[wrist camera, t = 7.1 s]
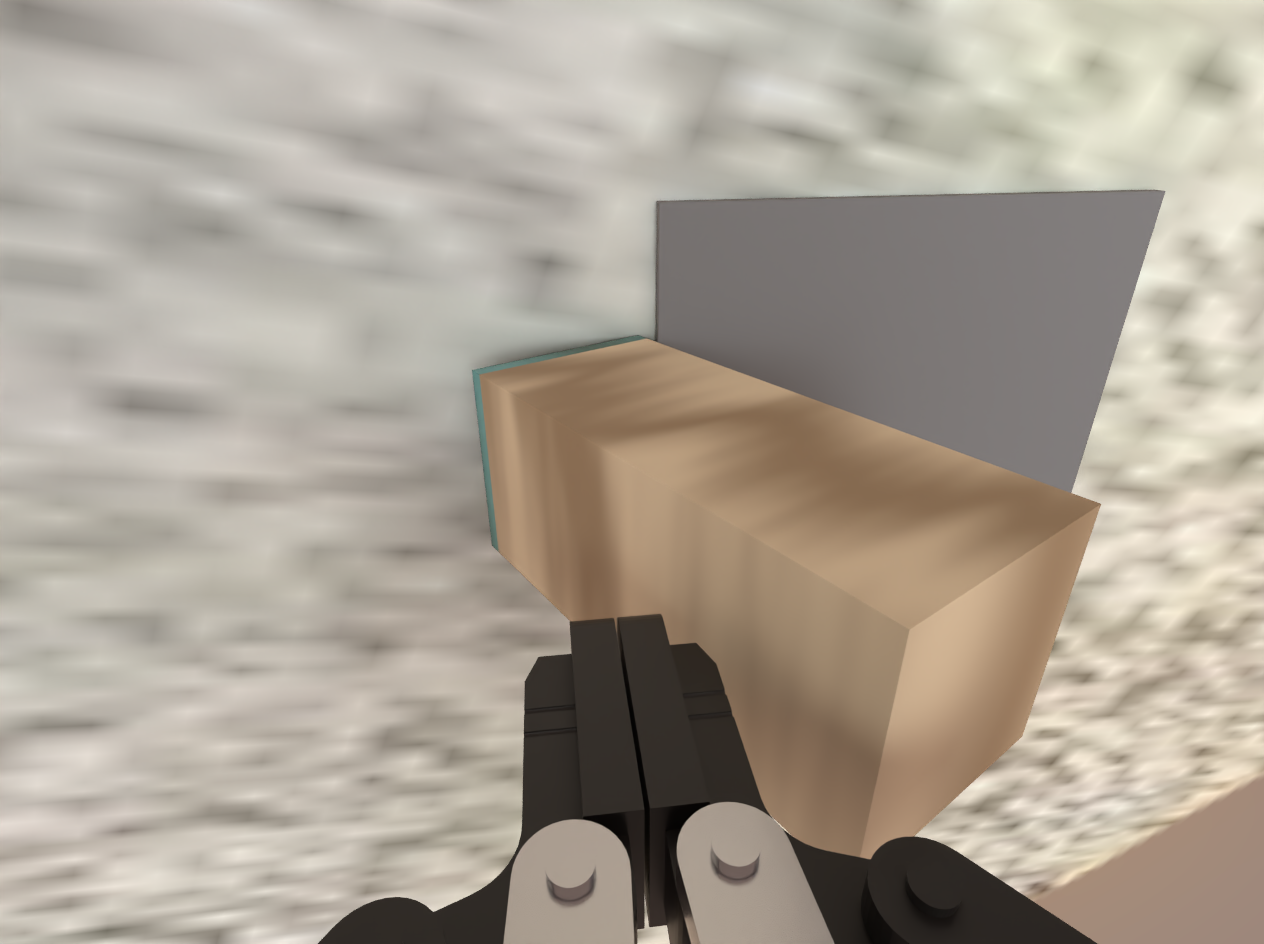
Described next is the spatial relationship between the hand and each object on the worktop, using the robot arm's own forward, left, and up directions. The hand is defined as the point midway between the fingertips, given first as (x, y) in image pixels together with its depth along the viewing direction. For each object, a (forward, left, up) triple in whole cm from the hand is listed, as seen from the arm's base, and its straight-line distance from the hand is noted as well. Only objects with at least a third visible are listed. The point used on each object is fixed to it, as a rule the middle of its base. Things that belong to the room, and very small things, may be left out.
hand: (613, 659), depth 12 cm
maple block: (0, 0, -9) cm, 9 cm away
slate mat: (+9, 0, -10) cm, 14 cm away
